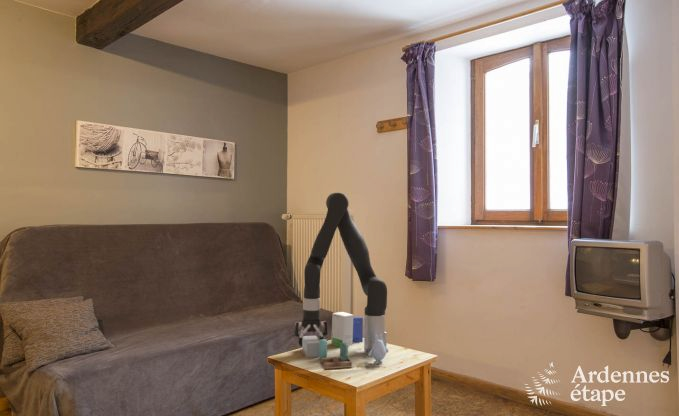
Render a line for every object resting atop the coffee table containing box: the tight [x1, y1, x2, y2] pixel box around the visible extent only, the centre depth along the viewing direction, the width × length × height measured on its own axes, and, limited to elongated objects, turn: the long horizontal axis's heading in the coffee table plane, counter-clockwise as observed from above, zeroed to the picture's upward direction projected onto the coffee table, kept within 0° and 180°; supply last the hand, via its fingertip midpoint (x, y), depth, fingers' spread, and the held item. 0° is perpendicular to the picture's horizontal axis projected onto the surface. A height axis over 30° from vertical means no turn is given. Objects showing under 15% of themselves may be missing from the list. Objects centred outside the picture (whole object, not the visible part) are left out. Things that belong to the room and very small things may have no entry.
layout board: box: [299, 348, 318, 359], centre depth 205 cm, size 8×13×5 cm, turn 13°
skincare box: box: [330, 311, 355, 347], centre depth 220 cm, size 8×7×16 cm
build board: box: [320, 343, 353, 371], centre depth 191 cm, size 11×8×9 cm
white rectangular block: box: [302, 335, 319, 359], centre depth 205 cm, size 6×12×6 cm, turn 13°
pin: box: [318, 338, 328, 361], centre depth 197 cm, size 3×3×9 cm
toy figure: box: [367, 334, 389, 365], centre depth 195 cm, size 11×6×12 cm, turn 125°
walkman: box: [352, 315, 364, 343], centre depth 229 cm, size 8×3×12 cm, turn 96°
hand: (310, 345), depth 205 cm, fingers open, 8 cm apart
